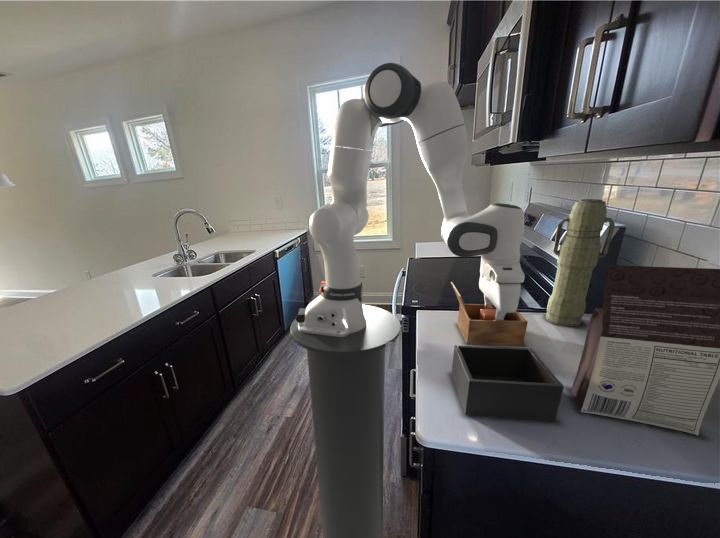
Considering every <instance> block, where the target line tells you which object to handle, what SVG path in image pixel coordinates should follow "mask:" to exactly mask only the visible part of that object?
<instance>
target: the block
mask: <svg viewBox="0 0 720 538" xmlns="http://www.w3.org/2000/svg"><path fill="white" fill-rule="evenodd" d="M496 313H497V311H496V309H480V317H479V320H494V317H495V315H496Z"/></svg>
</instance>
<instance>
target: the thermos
mask: <svg viewBox="0 0 720 538" xmlns="http://www.w3.org/2000/svg"><path fill="white" fill-rule="evenodd" d="M607 213H608V209H607V203H606V201H605V200H603V199H601V198H600V199H598V198H588V199H587V198H586V199H585V198H584V199H579V200H577V201H575V203H574V204H573V206H572V208H571V211H570V213H569V216H567V217H565V218H562V220H560V221H559V222H558V223H557V227H556V233H555V239H554V244H553V248H552V252H553V253H554V255H555V256H557V259H556V264H557V269H556V273H555V279H554V283H553V288H552V293H551V294H550V295H549V298H548V301H547V306H546V314H545V319H546V321H548V322H550V323H551V324H555V325H557V326H563V327H579V326H580V325H581V324H582V320H583V318H584V315H585V312H586V307H587V301H586V298H587V294H588V291H589V286H590V283H591V278H592V274H593V270H594V269H595V268H596V266H597V264H598V260H600V258H601V259H602V258H606V256H607V255H608V251H609V248H610V244H611V241H612V236H613V233H614V229H615V225H616V224H615V222H614V220H613V219H612V218H610V217H607ZM565 222H567V226H566V233H565V235H564V238H563V239H562V242H561V243H560V239H561V235H562V230H563V225H564V224H565ZM607 223H608V228H607V232H606V235H605V239H604V243H603V247H602V245H601V237H602V235H601V233H602V231H603V229H604V225H605V224H607ZM559 244H560V245H559ZM601 248H602V251H601Z"/></svg>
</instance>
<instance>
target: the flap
mask: <svg viewBox="0 0 720 538" xmlns="http://www.w3.org/2000/svg"><path fill="white" fill-rule="evenodd" d="M450 284H451V286H452V289H453V291H454V293H455V296H456V298H457V300H458V303H459V305H460V304H461V306H462V308H463V309H464V311H465V313H466V314H467V316H468V318H470V316H469V313H468V311H467V309H466V306H465V304H466V303H465V302H464V299H463V297H462V295H461V294H460V292H459V290H458V288H456V287H457V286H455V284H454V282H453V281H450Z"/></svg>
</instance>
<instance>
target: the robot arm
mask: <svg viewBox="0 0 720 538" xmlns="http://www.w3.org/2000/svg"><path fill="white" fill-rule="evenodd" d="M363 92H364V93H363V94H364V97H363V98H352V99H351V98H350V99H348V100H345V101H344V102H343V103H342V104H341V105H340V107H339V108H338V112H337V115H336V118H335V121H334V122H335V123H334V126H333V131H332V135H331V143H330V151H329V160H328V168H327V179H328V182H329V183H330V188H331V199H332V200H331V202H330V203H326V204H323V205H322V206H320V207H318V208H317V209H316V210H315V211H314V212H313V213H312V214H311V215H310V218H309V220H308V221H309V222H308V230H309V232H310V235H311V237H312V238H313V239H314V240H315V242H317V243H318V246H319V249H320V251H321V255H322V258H323V263H324V278H325V280H322V281H321V282H320V285H319V295H318V296H317V297H316V298H314V299H313V300H312V301H310V302H309V303H308V304H307V306H306V307H300V308H299V310H298V314H297V315H296V316H295V319H296V320H297V322H298V330H299V331H300V332H304V333H312V334H320V335H327V336H335V337H345V336H347V335H349V334H351V333H354V332H357V331H360V330H362V329H363V328H365V326H366V320H365V317H364V313H363V307H362V304H363V298H364V290H363V289H364V287H363V283H362V277H361V274H362V273H361V257H360V256H359V255H358V253H357V250H356V246H355V242H354V241H355V240H354V236H356V235H358V234H360V233H361V232H362V231H363V229H365V228H366V226H367V224H368V222H369V218H370V217H369V216H370V215H369V211H368V208H367V207H368V195H367V194H368V191H367V190H368V177H369V171H370V166H371V165H370V164H371V160H372V153H373V148H374V141H375V137H376V133H377V131H378V129H379V128H384V127H388V126H391V125H398V124H400V123H402V122H404V121H406V122H408V123H409V124H410V125H411V127H412V130H413V133H414V137H415V141H416V145H417V148H418V152H419V155H420V158H421V161H422V162H423V164H424V167H425V168H426V170H427V173H428V174H429V176H430V177H431V179H432V181H433V183H434V185H435V187H436V191H437V194H438V198H439V202H440V207H441V211H442V217H443V220H442V225H441V229H440V230H441V231H440V236H441V239H442V241H443V244H444V245H445V246H446V247H447V248H448V250H449V251H450V252H451V253H452V254H453V255H455V256H457V257H460V258H472V257H477V256H481V257H480V267H479V274H480V275H479V280H478V288H479V290H480V291H481V292H482V293H483V298H484V304H485V308H486V309H493V305H494V306H495V307H496V311H497V313H496V315H495V317H494V320H497V321H503V320H504V316H505V315H506V313H514V312H515V311H516V310H518V306H519V302H520V298H521V292H522V286H521V285H522V284H521V283H524V282H525V278H526V276H525V272H524V271H523V269H522V267H521V263H520V261H521V252H520V251H521V250H520V248H521V244H522V242H523V240H524V235H525V234H524V232H525V212H524V209H522V208H521V207H520V206H518V205H515V204H511V203H500V202H494V203H491V204H489V206H488V207H485V208H484V209H482V210H481V211H479V212H477V213H474V214H472V215H471V214H470V212H469V210H468V206H467V202H466V197H465V193H464V188H463V181H462V180H463V179H462V178H463V171H464V168H465V164H466V162H467V159H468V157H469V141H468V139H469V138H468V132H467V127H466V123H465V119H464V115H463V111H462V108H461V106H460V102H459V99H458V97H457V95H456V93H455V91H454V89H453V87H452V86H451V84H450V83H448V82H446V81H434V82H431V83H429V84H426V85H423V86H422V83H421V81H420V80H419V79H418V78H416V77H415V76H414V75H413V73H411V72H410V71H409V70H408V69H407V68H406V67H405V66H403V65H402V64H398V63H395V62H386V63H382V64H380V65H379V66H377V67H376V68H375V69H374V70H372V72H371V73H370V74H369V76H368V78H367V80H366V83H365V86H364V91H363Z"/></svg>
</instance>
